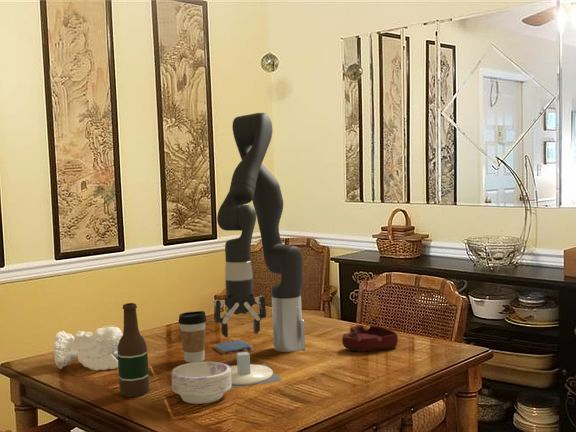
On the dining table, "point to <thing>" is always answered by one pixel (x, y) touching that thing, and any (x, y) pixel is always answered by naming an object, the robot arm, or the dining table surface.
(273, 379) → the mat
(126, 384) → the beer bottle
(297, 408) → the dining table surface
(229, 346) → the woven mat
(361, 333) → the ashtray
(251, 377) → the lid
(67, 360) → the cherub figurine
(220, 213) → the robot arm
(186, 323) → the coffee cup
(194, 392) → the paper bowls
